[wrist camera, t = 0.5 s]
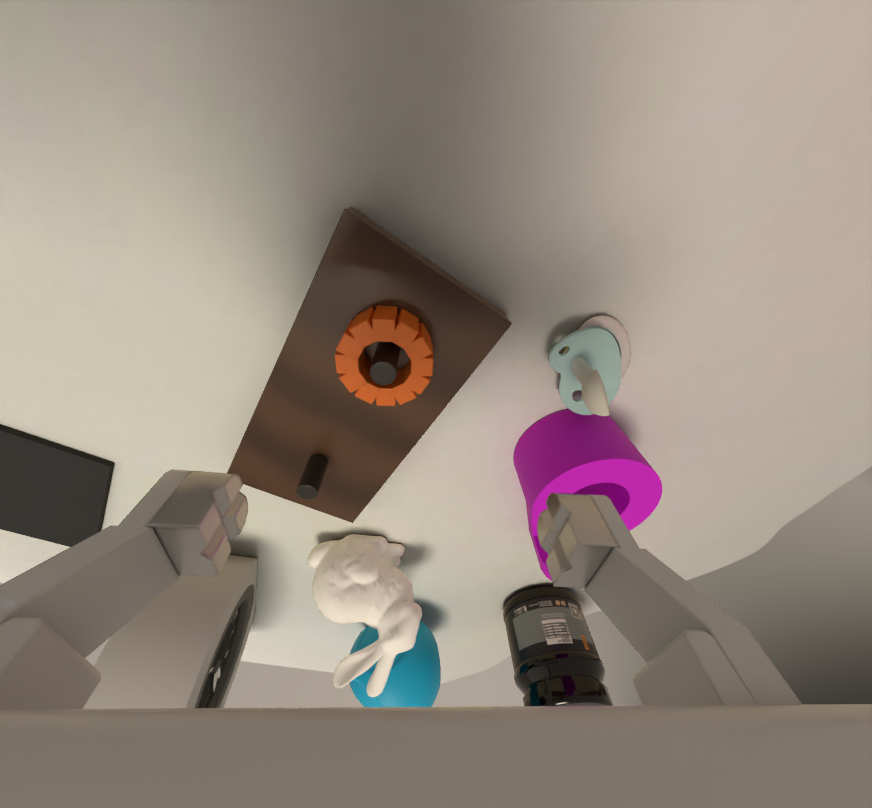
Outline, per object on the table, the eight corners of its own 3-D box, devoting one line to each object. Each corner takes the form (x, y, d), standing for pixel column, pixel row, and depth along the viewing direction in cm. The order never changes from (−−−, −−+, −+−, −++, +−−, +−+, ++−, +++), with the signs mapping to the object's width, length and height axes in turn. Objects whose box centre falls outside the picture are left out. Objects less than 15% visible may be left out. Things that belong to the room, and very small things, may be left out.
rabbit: (427, 544, 39) (430, 671, 29) (397, 584, 43) (390, 706, 33) (323, 517, 35) (284, 650, 25) (302, 564, 40) (262, 693, 30)
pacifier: (617, 296, 24) (535, 333, 25) (676, 327, 18) (569, 373, 19) (631, 377, 27) (560, 406, 28) (684, 422, 22) (594, 456, 23)
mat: (-80, 398, 26) (-88, 401, 25) (114, 462, 30) (110, 466, 30) (-59, 508, 33) (-65, 512, 32) (97, 548, 37) (93, 552, 36)
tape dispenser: (508, 420, 29) (527, 473, 24) (625, 397, 28) (672, 447, 23) (522, 531, 38) (538, 588, 33) (612, 517, 37) (643, 572, 32)
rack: (351, 206, 20) (329, 213, 15) (505, 313, 24) (526, 345, 19) (235, 461, 31) (203, 510, 26) (356, 506, 35) (345, 556, 30)
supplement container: (527, 627, 51) (553, 736, 41) (486, 602, 46) (503, 718, 36) (590, 602, 47) (635, 715, 37) (552, 572, 43) (592, 692, 33)
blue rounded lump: (339, 617, 47) (318, 729, 38) (395, 585, 43) (388, 702, 33) (401, 642, 52) (396, 747, 43) (456, 616, 48) (465, 725, 39)
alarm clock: (254, 626, 48) (165, 861, 31) (196, 620, 46) (72, 864, 30) (259, 537, 37) (126, 827, 20) (183, 526, 35) (-26, 829, 19)
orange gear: (368, 286, 21) (362, 298, 18) (449, 336, 23) (452, 352, 20) (328, 361, 23) (319, 379, 21) (403, 400, 25) (402, 419, 23)
